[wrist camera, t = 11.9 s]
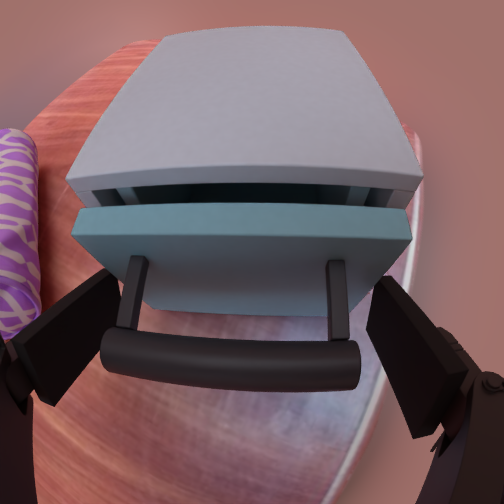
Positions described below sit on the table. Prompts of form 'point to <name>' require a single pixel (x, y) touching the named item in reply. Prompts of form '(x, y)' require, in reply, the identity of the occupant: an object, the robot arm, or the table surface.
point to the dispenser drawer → (242, 277)
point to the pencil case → (18, 232)
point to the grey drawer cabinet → (249, 119)
